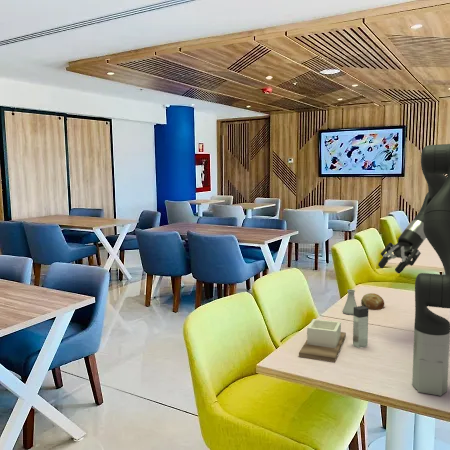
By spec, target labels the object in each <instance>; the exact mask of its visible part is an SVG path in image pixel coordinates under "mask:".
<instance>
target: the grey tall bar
mask: <svg viewBox="0 0 450 450" xmlns="http://www.w3.org/2000/svg"><path fill="white" fill-rule="evenodd" d="M352 320H353V323H352V324H353V327H352V346H353V347H356V348H358V349H361V348H365V347H366V348H367V347H368V338H369V336H368V334H369V309H368V308H367V307H365V306H362V305H357V307H354V315H353V317H352Z"/></svg>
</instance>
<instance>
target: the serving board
mask: <svg viewBox="0 0 450 450" xmlns="http://www.w3.org/2000/svg"><path fill="white" fill-rule="evenodd" d="M346 336H347V333H346V332H343V331H341V338H340V340H339V343H338V345H337V347H336V348H330V347H323V346H316V345H309V344H307V339H306V340H305V342H304V343H303V345H302V347H301V349H300V350H299V352H298V357H299V358H304V359H311V360H317V361H323V362H332V363H336V360H337V359H338V356H339V354H340V352H341V349H342V347H343V344H344V341H345V339H346Z"/></svg>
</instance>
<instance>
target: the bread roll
mask: <svg viewBox="0 0 450 450" xmlns="http://www.w3.org/2000/svg"><path fill="white" fill-rule="evenodd" d="M360 302H361V303H360V304H361V305H360V306H365V307H367V308H368V310H370V311H379V310H382V309H384V307H385V301H384V298H383V297H381V296H380V295H379V294H378V293H373V292H371V293H367V294H364V295H363V297H362V298H361V300H360Z"/></svg>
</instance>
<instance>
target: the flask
mask: <svg viewBox="0 0 450 450" xmlns="http://www.w3.org/2000/svg"><path fill="white" fill-rule="evenodd" d="M346 290H347V299H346V301H345V304H344V305H343V306H344V307H343V309H342V313H343V314H346V315H349V316H350V315H354V307H358V305H357V301H356V297H355V292H356V290H355V289H351V288H350V289H346Z"/></svg>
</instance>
